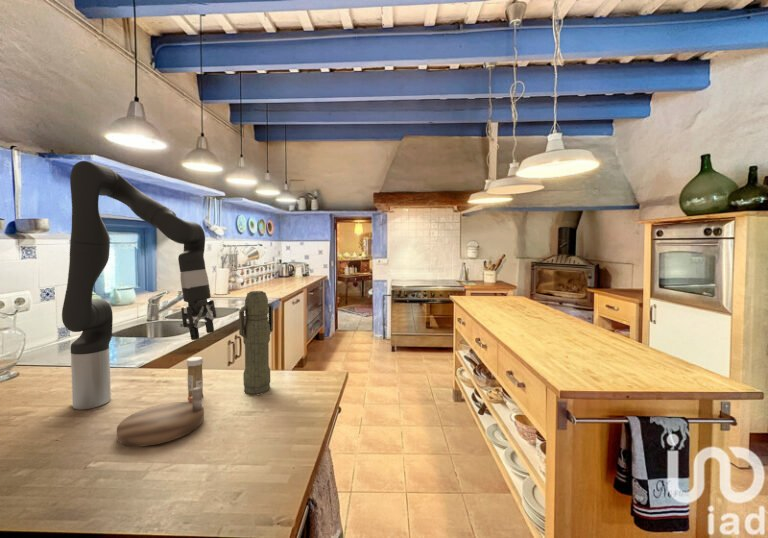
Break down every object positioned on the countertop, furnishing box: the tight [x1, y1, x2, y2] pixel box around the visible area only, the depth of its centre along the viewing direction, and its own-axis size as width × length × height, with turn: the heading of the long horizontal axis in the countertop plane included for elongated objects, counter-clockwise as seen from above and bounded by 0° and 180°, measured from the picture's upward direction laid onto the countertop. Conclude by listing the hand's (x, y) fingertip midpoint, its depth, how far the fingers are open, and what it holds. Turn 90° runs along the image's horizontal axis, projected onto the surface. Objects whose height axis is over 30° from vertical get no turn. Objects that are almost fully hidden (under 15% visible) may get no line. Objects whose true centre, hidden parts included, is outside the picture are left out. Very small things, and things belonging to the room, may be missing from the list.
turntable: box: [116, 387, 205, 447], centre depth 93 cm, size 20×20×8 cm
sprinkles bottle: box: [186, 356, 204, 401], centre depth 112 cm, size 5×5×14 cm
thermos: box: [238, 290, 274, 396], centre depth 119 cm, size 9×12×35 cm
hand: (203, 335), depth 107 cm, fingers open, 8 cm apart
